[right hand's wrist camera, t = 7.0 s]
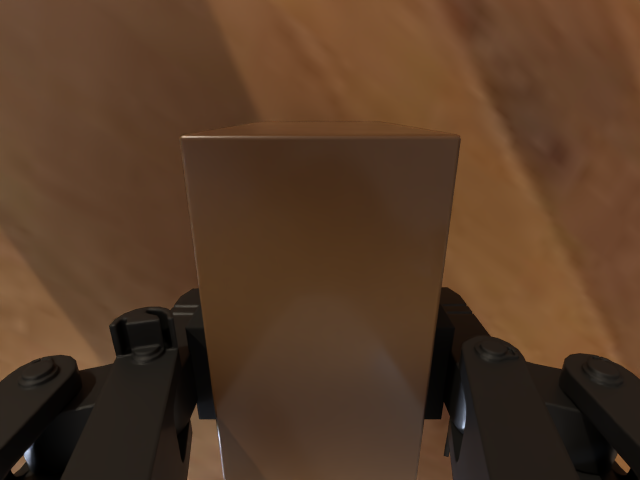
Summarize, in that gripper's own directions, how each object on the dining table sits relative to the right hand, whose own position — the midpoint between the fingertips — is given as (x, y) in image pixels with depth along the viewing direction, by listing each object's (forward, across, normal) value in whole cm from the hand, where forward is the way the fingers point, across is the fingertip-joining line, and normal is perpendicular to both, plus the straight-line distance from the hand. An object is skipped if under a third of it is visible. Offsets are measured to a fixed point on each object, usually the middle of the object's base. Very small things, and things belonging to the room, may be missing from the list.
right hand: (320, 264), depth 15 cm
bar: (+1, 0, -25) cm, 25 cm away
